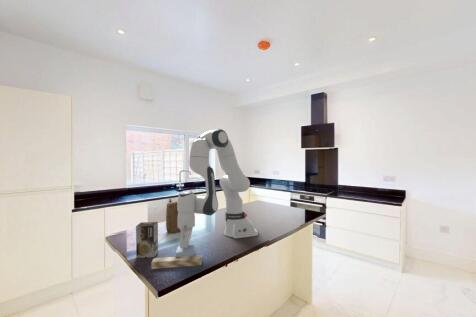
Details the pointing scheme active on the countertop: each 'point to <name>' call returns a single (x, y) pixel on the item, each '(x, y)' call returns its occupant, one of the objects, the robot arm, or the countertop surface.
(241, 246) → the countertop surface
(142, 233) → the coffee box
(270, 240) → the countertop surface
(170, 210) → the block
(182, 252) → the blue block
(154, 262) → the oak board
